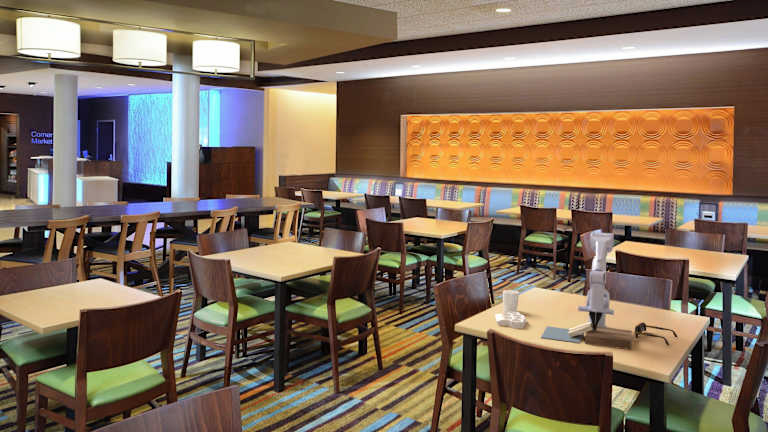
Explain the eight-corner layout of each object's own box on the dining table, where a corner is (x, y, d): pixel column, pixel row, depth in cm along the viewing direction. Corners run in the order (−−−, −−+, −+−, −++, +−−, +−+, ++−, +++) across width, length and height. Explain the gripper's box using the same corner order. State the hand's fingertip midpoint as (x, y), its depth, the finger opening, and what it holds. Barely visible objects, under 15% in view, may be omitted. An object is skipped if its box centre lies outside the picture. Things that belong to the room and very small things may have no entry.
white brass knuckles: (494, 317, 294) (524, 318, 292) (497, 328, 276) (530, 329, 274) (494, 310, 293) (525, 311, 292) (498, 321, 275) (530, 322, 274)
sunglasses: (668, 346, 254) (669, 334, 254) (631, 338, 264) (632, 327, 263) (677, 338, 265) (678, 327, 264) (641, 331, 275) (642, 321, 274)
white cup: (518, 309, 307) (519, 290, 306) (517, 313, 299) (518, 294, 298) (502, 308, 309) (503, 289, 308) (501, 312, 302) (502, 292, 300)
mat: (547, 327, 278) (547, 326, 278) (583, 331, 272) (583, 330, 272) (541, 338, 261) (541, 337, 261) (579, 343, 255) (579, 342, 255)
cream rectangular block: (571, 333, 268) (569, 328, 268) (593, 325, 264) (591, 321, 264) (570, 337, 261) (568, 333, 262) (592, 329, 258) (590, 325, 258)
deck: (587, 332, 270) (588, 325, 270) (631, 338, 263) (631, 330, 263) (584, 343, 255) (585, 335, 255) (630, 349, 248) (631, 341, 248)
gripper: (578, 298, 258) (576, 329, 260) (614, 302, 253) (612, 333, 254) (579, 294, 265) (577, 325, 266) (614, 298, 259) (613, 329, 261)
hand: (594, 329), depth 261 cm, fingers closed
